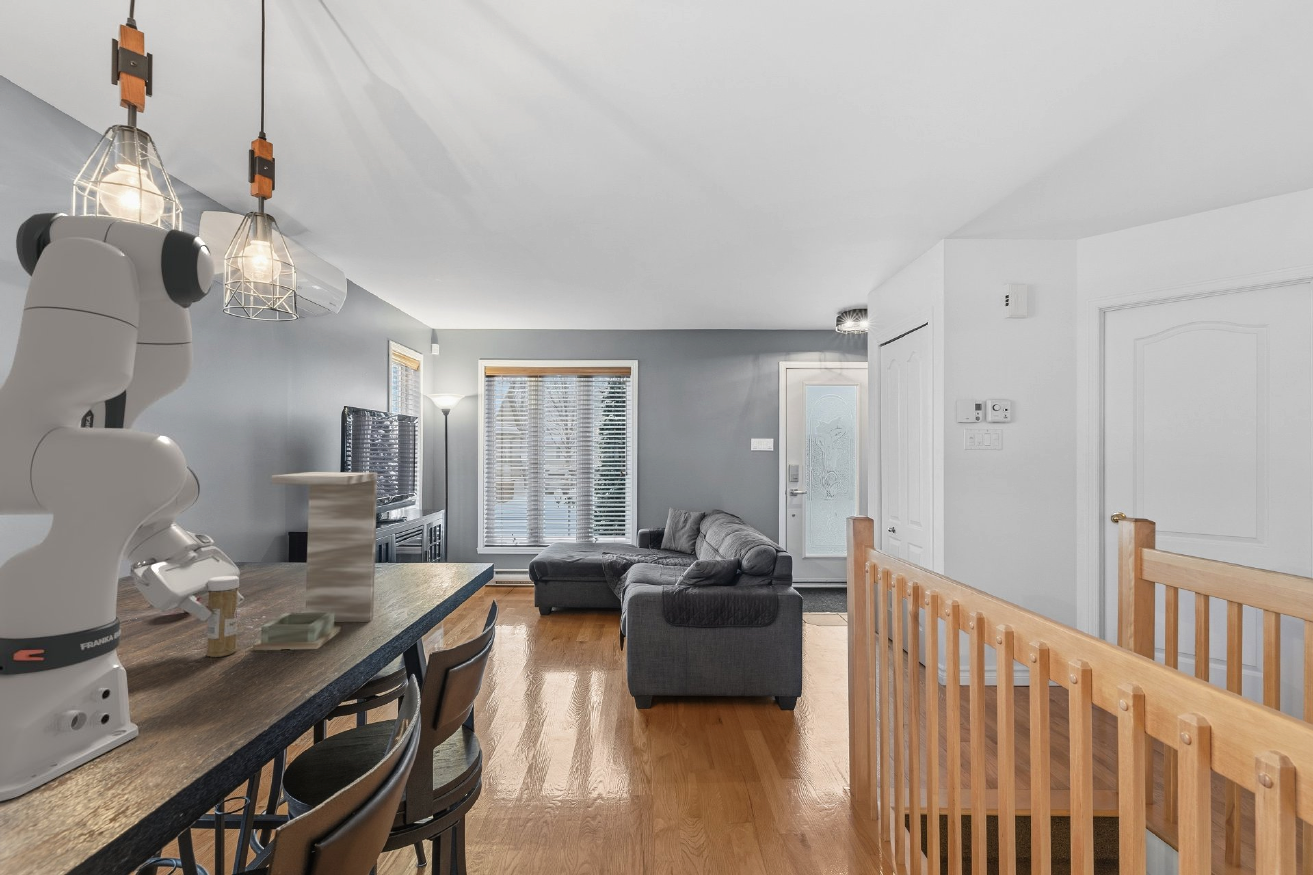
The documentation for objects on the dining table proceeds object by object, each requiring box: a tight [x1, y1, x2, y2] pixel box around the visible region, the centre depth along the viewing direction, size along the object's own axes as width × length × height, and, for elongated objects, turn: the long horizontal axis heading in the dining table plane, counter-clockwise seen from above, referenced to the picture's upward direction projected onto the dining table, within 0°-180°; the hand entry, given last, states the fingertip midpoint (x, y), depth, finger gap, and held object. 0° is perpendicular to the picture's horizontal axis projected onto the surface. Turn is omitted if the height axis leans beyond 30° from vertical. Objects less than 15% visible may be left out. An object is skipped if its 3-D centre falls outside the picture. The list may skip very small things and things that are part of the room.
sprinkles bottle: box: [205, 576, 240, 658], centre depth 110 cm, size 5×5×13 cm
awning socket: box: [252, 471, 378, 651], centre depth 123 cm, size 20×14×32 cm
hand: (225, 609), depth 110 cm, fingers open, 8 cm apart
